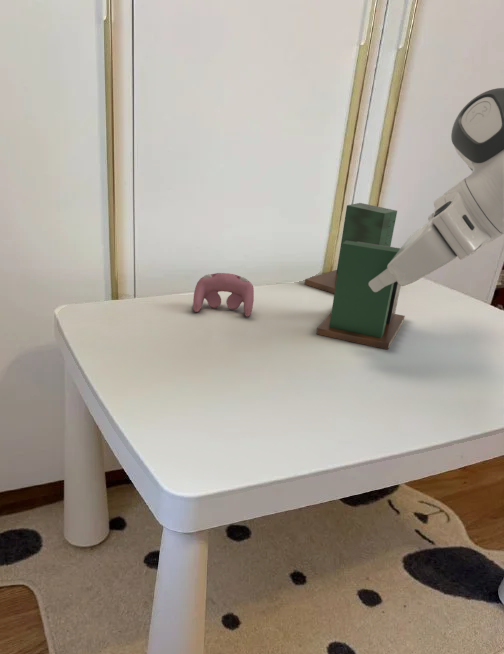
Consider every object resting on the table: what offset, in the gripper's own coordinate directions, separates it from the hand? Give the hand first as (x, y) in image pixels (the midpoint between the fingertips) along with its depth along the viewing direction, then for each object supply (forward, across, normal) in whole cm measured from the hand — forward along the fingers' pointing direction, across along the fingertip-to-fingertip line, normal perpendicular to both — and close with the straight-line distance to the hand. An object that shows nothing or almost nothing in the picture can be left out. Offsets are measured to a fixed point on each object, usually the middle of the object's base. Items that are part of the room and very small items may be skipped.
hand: (377, 279), depth 92 cm
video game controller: (+24, 0, -10) cm, 26 cm away
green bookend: (+13, -25, 0) cm, 29 cm away
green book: (+7, 0, +5) cm, 9 cm away
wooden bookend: (+8, -5, +5) cm, 11 cm away
